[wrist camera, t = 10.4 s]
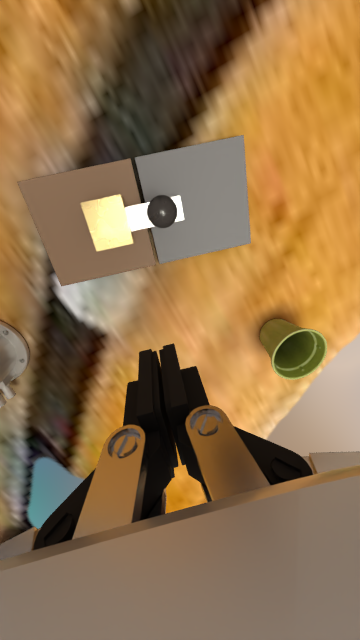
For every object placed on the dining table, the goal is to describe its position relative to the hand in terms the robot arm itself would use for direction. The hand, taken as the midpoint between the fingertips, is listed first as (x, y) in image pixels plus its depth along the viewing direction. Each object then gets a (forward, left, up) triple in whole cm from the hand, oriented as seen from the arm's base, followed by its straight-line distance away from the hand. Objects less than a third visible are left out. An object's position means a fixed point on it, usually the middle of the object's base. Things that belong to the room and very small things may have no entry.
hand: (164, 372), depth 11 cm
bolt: (+7, 0, -28) cm, 28 cm away
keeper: (+7, +4, -28) cm, 29 cm away
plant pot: (-18, -20, -29) cm, 40 cm away
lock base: (+7, -1, -29) cm, 30 cm away
